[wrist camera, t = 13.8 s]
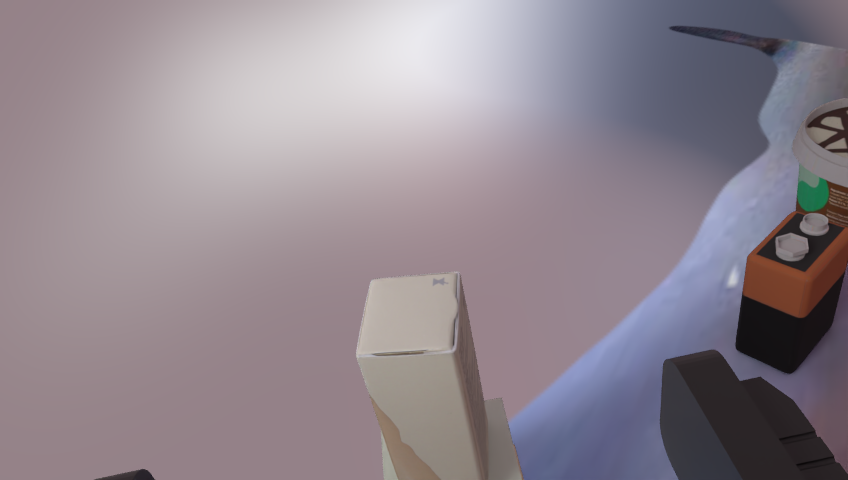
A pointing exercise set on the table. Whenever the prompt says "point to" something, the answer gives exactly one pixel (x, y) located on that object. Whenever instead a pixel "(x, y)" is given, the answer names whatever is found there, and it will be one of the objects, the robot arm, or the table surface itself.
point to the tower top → (501, 448)
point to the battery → (792, 290)
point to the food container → (824, 162)
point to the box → (425, 377)
